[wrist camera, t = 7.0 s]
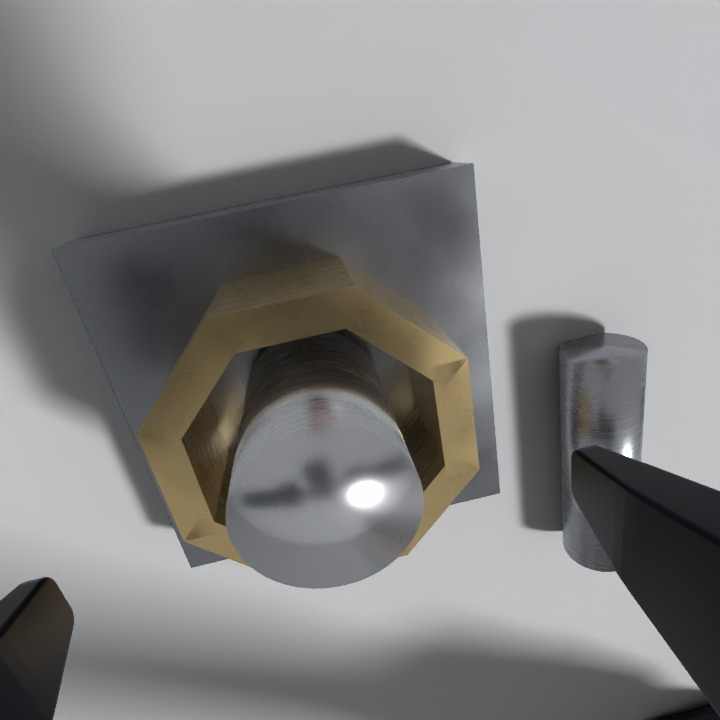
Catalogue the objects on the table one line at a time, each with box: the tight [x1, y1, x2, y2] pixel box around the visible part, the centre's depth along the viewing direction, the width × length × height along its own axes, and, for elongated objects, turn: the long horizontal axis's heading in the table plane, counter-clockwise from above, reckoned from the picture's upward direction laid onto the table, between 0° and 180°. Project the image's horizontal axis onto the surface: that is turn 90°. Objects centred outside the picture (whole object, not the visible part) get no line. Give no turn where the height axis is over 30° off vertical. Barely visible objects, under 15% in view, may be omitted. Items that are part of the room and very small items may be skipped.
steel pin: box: [559, 333, 648, 572], centre depth 16 cm, size 8×2×2 cm
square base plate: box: [52, 162, 500, 588], centre depth 12 cm, size 10×10×6 cm
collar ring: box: [137, 256, 480, 567], centre depth 12 cm, size 7×7×3 cm
